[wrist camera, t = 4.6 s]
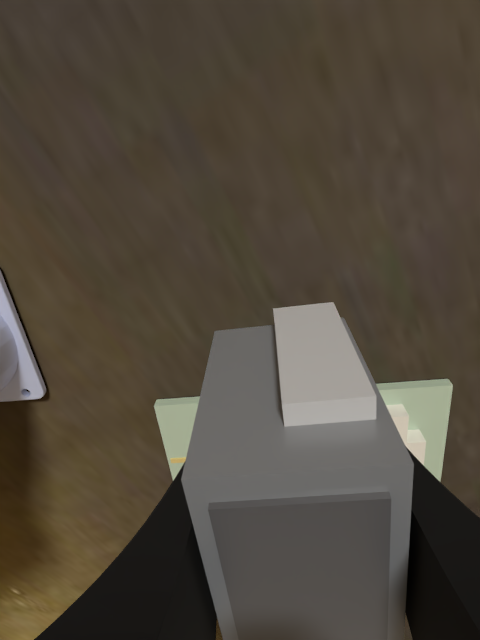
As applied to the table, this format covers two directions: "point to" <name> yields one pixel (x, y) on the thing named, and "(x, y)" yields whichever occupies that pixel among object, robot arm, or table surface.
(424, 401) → the board
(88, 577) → the table surface
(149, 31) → the table surface
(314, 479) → the plug
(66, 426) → the table surface
